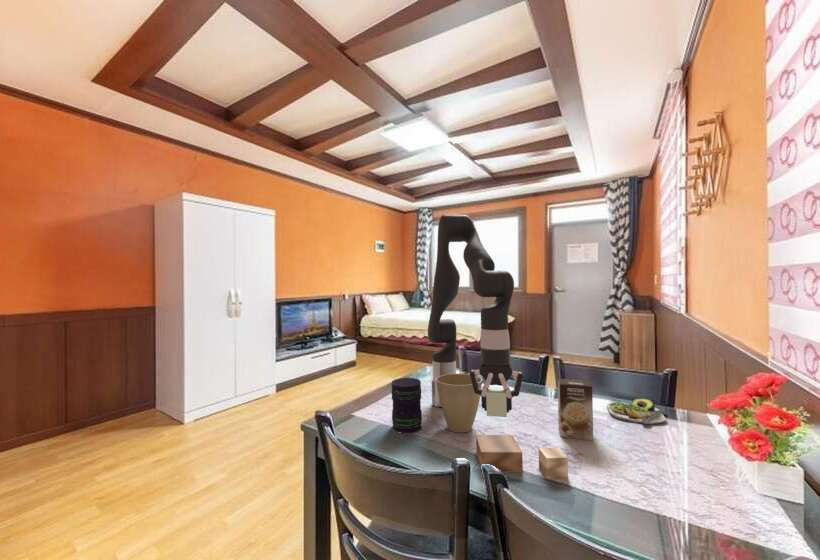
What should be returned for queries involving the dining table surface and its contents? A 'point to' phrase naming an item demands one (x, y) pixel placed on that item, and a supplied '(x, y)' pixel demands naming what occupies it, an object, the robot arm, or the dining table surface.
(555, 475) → the maple block
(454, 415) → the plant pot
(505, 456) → the walnut block
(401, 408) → the storage jar
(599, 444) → the dining table surface
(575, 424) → the coffee box
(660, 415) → the salad plate
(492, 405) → the sage block
